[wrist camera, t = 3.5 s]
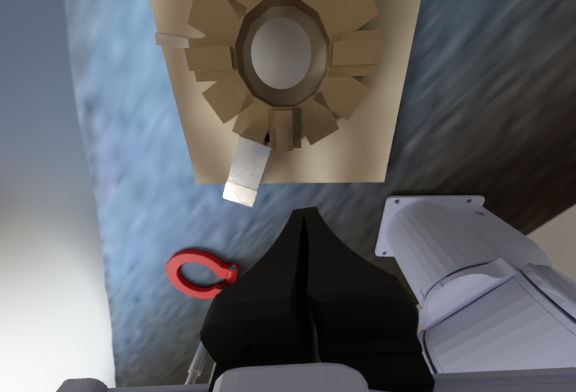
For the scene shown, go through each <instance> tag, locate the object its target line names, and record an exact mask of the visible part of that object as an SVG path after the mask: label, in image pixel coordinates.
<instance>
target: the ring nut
mask: <svg viewBox="0 0 576 392" xmlns="http://www.w3.org/2000/svg"><path fill="white" fill-rule="evenodd" d="M280 6H296V7H297V8H299V9H300V10H301V11H303V12H304V13H306V14H307V15H309V16H310V17H312V18H313V19H314V20H316V23H317V25H318V27H319V29H320V32H321V34H322V36H323V39H324V41H325V43H326V61H325V72H324V74H323V76H322V78H321V80H320V81H319V83H318V85H317V87H316V89H315V91H314V92H313V93H312V94H310V95H309V96H307V97H306V98H304V99H303V100H301V101H300V102H298V103H297V104H283V105H275V104H274V103H272V102H270V101H268V100H267V99H265V98H263V97H262V96H260V95H258V94H257V93H256V91H255V89H254V88H253V86H252V85H251V83H250V81H249V80H248V78H247V76H246V75H245V69H244V60H243V51H242V47H243V45H244V42H245V39H246V36H247V33H248V31H249V28H250V25H251V23H252V22H253V21H254V20H256V19H257V18H258V17H259V16H260V15H262V14H263V13H264V12H265V11H266V10H267V9H269V8H270V7H280ZM377 15H379V12H378V9H377V6H376V3H375V0H193V3H192V7H191V11H190V15H189V20H188V24H189V25H191V26H192V27H194V28H195V29H197V30H199V31H200V32H202V33H204V34H205V35H207V36H209V37H210V38H189V39H188V44H189V48H184V50H185V54H186V59H187V64H188V68H189V71H194V72H195V77H196V82H208V81H217V82H216V83H214V84H213V85H212V86H211V87H209V88H208V89H207V90H206V91H204V92H203V93H202V95H203V96H204V98H205V99H206V100H207V102H208V103H209V104H210V106H211V107H212V109H213V110H214V111H215V113H216V114H217V115H218V117H219V118H220V120H221V121H222V122H223V124H225V123H226V122H228V121H230V120H231V119H233V118H234V117H236V116H237V115H238V114H239V115H238V117H237V120H236V122H235V125H234V127H233V130H232V132H234V133H236V134H238V135H240V136H239V138H238V142H237V146H236V150H235V154H234V158H233V162H232V166H231V169H230V173H229V177H228V180H227V182H226V186H225V190H224V194H223V198H225V199H228V200H231V201H234V202H237V203H241V204H244V205H247V206H250V207H252V206H253V203H254V201H255V198H256V195H257V192H258V189H259V187H260V184H261V181H262V178H263V175H264V174H263V173H264V170H265V167H266V164H267V161H268V158H269V155H270V152H271V149H277V151H293V148H301V129H302V131H303V133H304V134H305V136H306V138H307V140H308V141H309V143H310V145H313V144H314V143H316V142H318V141H320V140H321V139H323V138H325V137H326V136H328V135H330V134H332V133H333V132H335V131H337V130H338V129H339V127H338V125H337V123H336V120H335V118H334V116H333V114H332V112H334V113H335V114H337V115H339V116H340V117H342V118H344V119H345V120H347V121H348V120H349V118H350V117H351V115H352V114H353V112H354V111H355V109H356V108H357V106H358V104H359V103H360V101H361V100H362V98H363V97H364V95H365V94H366V92H367V91H368V89H369V88H368V87H366V86H365V85H363V84H362V83H360V82H359V81H357V80H356V79H354V78H353V77H351V76H374V71H375V64H379V60H380V53H381V46H382V39H381V40H379V35H380V30H364V31H357V30H359V29H360V28H362V27H363V26H364V25H366V24H367V23H369V22H370V21H371V20H372V19H374V18H375V17H376V16H377ZM331 111H332V112H331ZM268 131H269V134H268Z"/></svg>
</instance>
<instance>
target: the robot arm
mask: <svg viewBox="0 0 576 392" xmlns="http://www.w3.org/2000/svg"><path fill="white" fill-rule="evenodd" d="M468 199H469V200H468ZM395 200H398V201H397V202H395ZM467 200H468V201H467ZM484 201H485V198H484V197H482V196H481V195H436V196H389V197H388V198H387V199H386V203H385V208H384V212H383V217H382V221H381V226H380V231H379V235H378V240H377V244H376V249H375V253H376V255H377V256H394V257H395V259H396V261H397V263H398V264H399V266H400V268H401V270H402V272H403V274H404V275H405V277H406V279H407V281H408V283H409V285H410V287H411V288H412V290H413V292H414V294H415V296H416V298H417V299H418V301H419V303H420V305H421V307H422V310H421V311H420V312H418V309H417V307H416V305H415V303H414V301H413V299H412V298H411V296H410V295H409V293H408V292H407V290H406V289H405V288H404V286H403V285H402V284H401V282H400V281H399V280H398V279H397V277H395V276H394V275H392V274H390V273H388V272H386V271H384V270H382V269H380V268H378V267H376V266H374V265H373V264H371V263H369V262H368V261H366V260H365V259H364V258H362V257H361V256H359V255H358V254H357V253H355V252H354V251H352V250H351V249H350V248H349V247H348V246H346V245H345V244H344V243H343V242H342V241H341V240H340V239H339V238H338V237H337V236H336V235H335V234H334V233H333V232H332V230H331V229H330V228H329V227H328V225H327V224H326V223H325V221H324V220H323V218H322V217H321V215H320V213H319V211H318V208H317V207H309V208H303V209H296V210H293V211H292V213H291V216H290V218H289V220H288V221H287V223H286V225H285V227H284V229H283V230H282V232H281V234H280V235H279V237H278V238H277V239H276V241H275V242H274V244H273V245H272V246H271V248H270V249H269V250H268V251H267V253H266V254H265V255H264V256H263V257H262V258H261V259H260V260H259V261H258V262H257V263H256V264H255V265H254V266H253V267H252V268H251V269H250V270H249V271H248V272H246V273H245V274H244V275H243V276H242V277H240V278H239V279H238V280H237V281H235V282H234V283H233V284H231V285H230V286H228V287H227V288H225V289H224V290H223V291H221V292H220V293H218V294H217V295H215V297H214V299H213V301H212V304H211V306H210V308H209V311H208V313H207V316H206V318H205V321H204V323H203V326H202V329H201V331H200V340H201V342H202V344H203V346H204V347H205V349H206V350H207V352H208V353H209V354H210V356H211V357H212V358H213V360H214V361H215V363H216V366H215V369H214V373H213V376H212V380H211V383H210V384H193V385H171V386H149V387H127V388H107V386H106V385H105V384H104V383H103V382H101V381H99V380H97V379H94V378H93V379H92V378H82V379H68V380H65V381H64V382H63V384H62V385H61V386H60V388H59V389H58V390H57V391H56V392H576V282H574V281H573V280H571V279H570V278H568V277H567V276H565V275H564V274H562V273H561V272H559V271H558V270H556V269H554V268H553V267H552V265H551V262H550V261H549V259H548V257H547V256H546V254H545V253H544V252H543V250H542V249H541V248H540V247H539V246H538V245H537V244H536V243H534V242H533V241H532V240H530V239H529V238H527V237H526V236H525V235H523V234H522V233H520V232H519V231H517V230H516V229H514V228H513V227H511V226H510V225H509V224H507V223H506V222H504V221H503V220H501V219H500V218H498V217H497V216H495V215H494V214H493V213H491V212H490V211H488V210H487V209H485V208H484V207H482V205H483V203H484ZM383 252H384V253H383ZM419 321H420V323H421V325H422V327H423V330H421V331H420V332H419V333H418V335H417V330H418V322H419ZM314 323H315V327H316V331H317V337H318V351H319V358H321V362H322V363H318V359H317V349H316V339H315V328H314Z"/></svg>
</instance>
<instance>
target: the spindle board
mask: <svg viewBox="0 0 576 392" xmlns="http://www.w3.org/2000/svg"><path fill="white" fill-rule="evenodd" d="M420 2H421V0H375V3H376V6H377V9H378V12H379V15H377V16H376V17H375V18H374V19H372V20H371V21H370V22H369V23H367V24H366V25H364V26H363V27H362V28H360V29H359V30H357V31H364V30H380V35H379V40H381V39H382V46H381V53H380V60H379V64H375V71H374V76H351V77H353V78H354V79H356V80H357V81H359V82H360V83H362V84H363V85H365V86H366V87H368V88H369V89H368V91H367V92H366V94H365V95H364V97H363V98H362V100H361V101H360V103H359V104H358V106H357V108H356V109H355V111H354V112H353V114H352V115H351V117H350V118H349V120H348V121H347V120H345V119H344V118H342V117H340V116H339V115H337V114H335V113H334V112H332V111H331V112H332V114H333V116H334V118H335V120H336V123H337V125H338V127H339V129H338V130H337V131H335V132H333V133H332V134H330V135H328V136H326V137H325V138H323V139H321V140H320V141H318V142H316V143H314V144H313V145H310V143H309V141H308V140H307V138H306V136H305V134H304V133H303V131H302V129H301V148H293V151H277V149H271V152H270V155H269V158H268V161H267V164H266V167H265V170H264V173H263V174H264V175H263V178H262V181H261V183H338V182H384V179H385V174H386V170H387V165H388V160H389V155H390V150H391V145H392V140H393V135H394V130H395V125H396V120H397V115H398V110H399V105H400V100H401V96H402V91H403V86H404V81H405V76H406V71H407V66H408V61H409V56H410V51H411V46H412V41H413V36H414V31H415V27H416V22H417V17H418V12H419V7H420ZM192 3H193V0H150V4H151V8H152V12H153V16H154V19H155V23H156V27H157V31H158V33H155V38H156V44H157V45H161V46H162V50H163V54H164V58H165V62H166V66H167V70H168V74H169V77H170V81H171V85H172V89H173V93H174V97H175V101H176V104H177V108H178V112H179V116H180V120H181V124H182V128H183V132H184V135H185V139H186V143H187V147H188V151H189V155H190V159H191V162H192V166H193V170H194V174H195V178H196V182H197V184H226V182H227V180H228V177H229V173H230V169H231V166H232V162H233V158H234V154H235V150H236V146H237V142H238V138H239V136H240V135H238V134H236V133H234V132H232V130H233V127H234V125H235V122H236V120H237V117H238V115H239V114H238V115H237V116H236V117H234V118H233V119H231V120H230V121H228V122H226V123H225V124H223V122H222V121H221V120H220V118H219V117H218V115H217V114H216V113H215V111H214V110H213V109H212V107H211V106H210V104H209V103H208V102H207V100H206V99H205V98H204V96H203V95H202V93H203V92H204V91H206V90H207V89H208V88H209V87H211V86H212V85H213V84H214V83H216V82H217V81H208V82H196V77H195V72H194V71H189V68H188V64H187V59H186V54H185V50H184V48H189V44H188V39H189V38H210V37H209V36H207V35H205V34H204V33H202V32H200V31H199V30H197V29H195V28H194V27H192V26H191V25H189V24H188V20H189V15H190V11H191V7H192ZM242 51H243V60H244V69H245V75H246V76H247V78H248V80H249V81H250V83H251V85H252V86H253V88H254V89H255V91H256V93H257V94H258V95H260V96H262V97H263V98H265V99H267V100H268V101H270V102H272V103H274V104H275V105H283V104H297V103H298V102H300V101H301V100H303V99H304V98H306V97H307V96H309V95H310V94H312V93H313V92H314V91H315V89H316V87H317V85H318V83H319V81H320V80H321V78H322V76H323V74H324V72H325V61H326V43H325V41H324V39H323V36H322V34H321V32H320V29H319V27H318V25H317V23H316V20H314V19H313V18H312V17H310V16H309V15H307V14H306V13H304V12H303V11H301V10H300V9H299V8H297V7H296V6H280V7H270V8H269V9H267V10H266V11H265V12H264V13H263V14H262V15H260V16H259V17H258V18H257V19H256V20H254V21H253V22H252V23H251V25H250V28H249V31H248V33H247V36H246V39H245V42H244V45H243V47H242ZM268 134H269V131H268Z"/></svg>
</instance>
